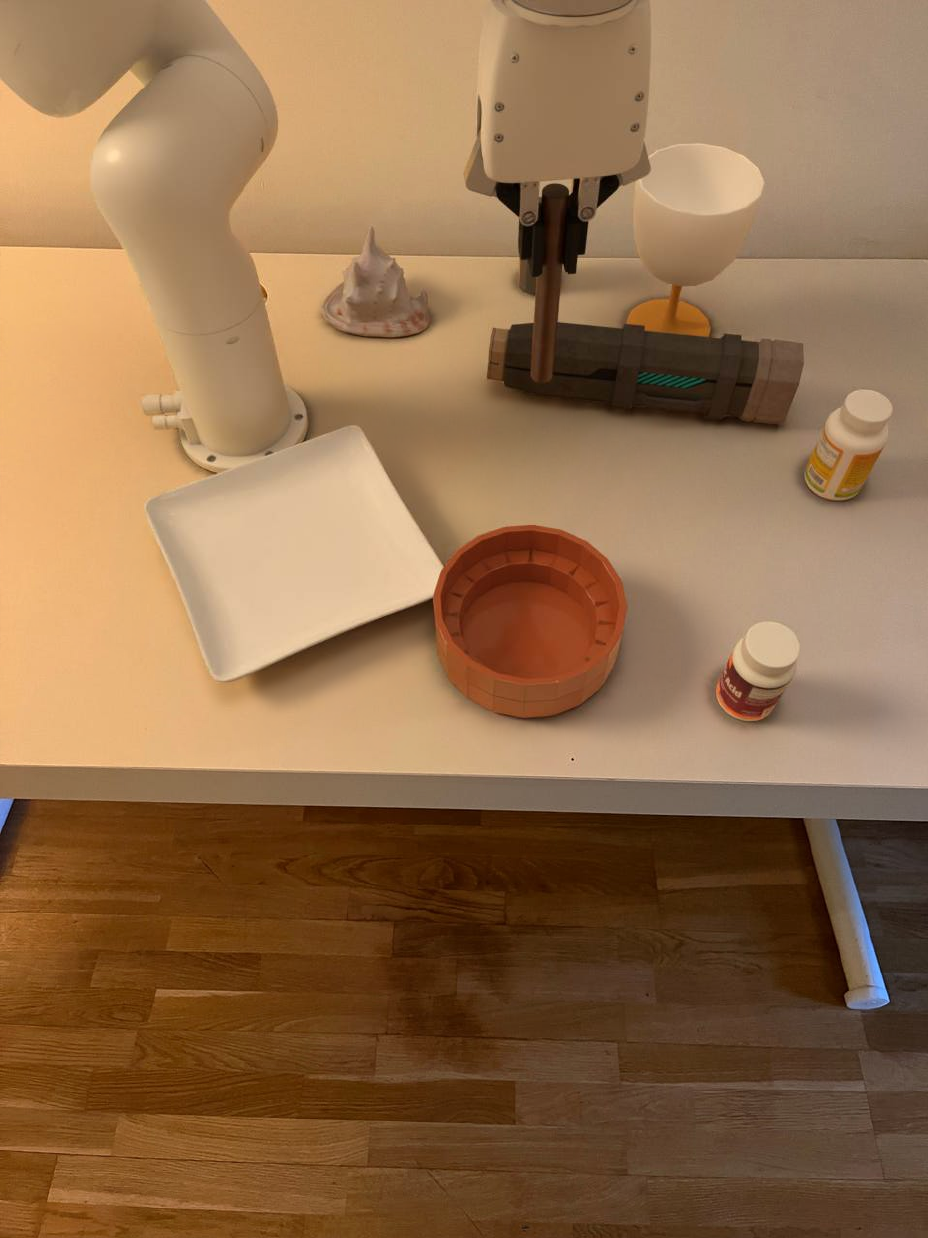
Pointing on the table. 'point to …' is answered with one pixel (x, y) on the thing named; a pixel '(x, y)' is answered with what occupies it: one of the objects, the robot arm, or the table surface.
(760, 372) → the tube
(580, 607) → the bowl
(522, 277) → the holder
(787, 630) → the pill bottle
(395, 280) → the seashell
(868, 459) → the supplement bottle
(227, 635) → the salad plate
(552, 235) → the stick
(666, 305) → the cup
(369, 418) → the table surface
